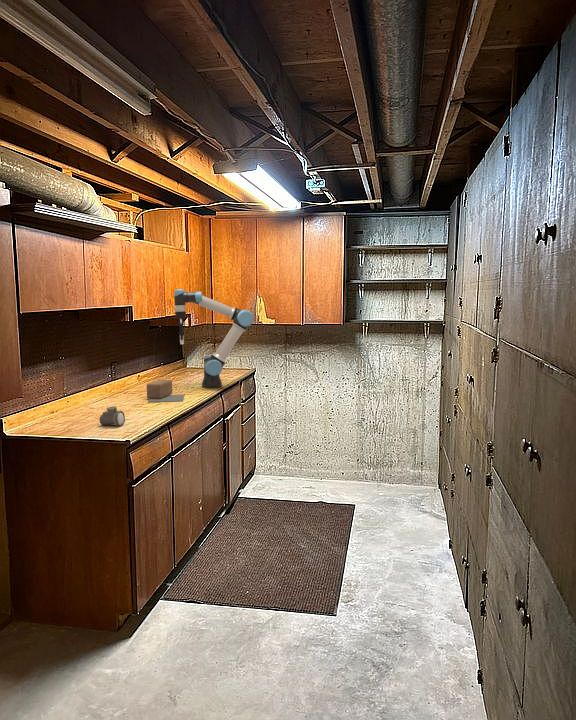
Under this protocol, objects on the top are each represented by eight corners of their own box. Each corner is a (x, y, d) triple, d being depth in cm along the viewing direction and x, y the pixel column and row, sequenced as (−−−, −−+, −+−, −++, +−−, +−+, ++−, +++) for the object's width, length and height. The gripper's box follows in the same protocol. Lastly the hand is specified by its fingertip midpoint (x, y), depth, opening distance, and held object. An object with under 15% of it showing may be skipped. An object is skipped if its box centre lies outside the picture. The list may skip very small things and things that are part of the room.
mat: (184, 395, 379) (184, 394, 379) (182, 401, 357) (182, 400, 357) (151, 396, 376) (151, 395, 376) (147, 402, 354) (147, 401, 354)
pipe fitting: (127, 423, 294) (123, 404, 292) (119, 428, 286) (115, 409, 285) (107, 424, 297) (103, 406, 295) (99, 429, 289) (95, 410, 288)
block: (172, 394, 381) (160, 399, 362) (159, 393, 383) (146, 398, 364) (172, 379, 380) (160, 384, 360) (159, 379, 382) (145, 383, 362)
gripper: (175, 311, 398) (176, 343, 401) (175, 311, 385) (176, 345, 388) (185, 310, 399) (187, 343, 402) (185, 311, 387) (187, 344, 390)
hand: (182, 344), depth 395 cm, fingers closed
